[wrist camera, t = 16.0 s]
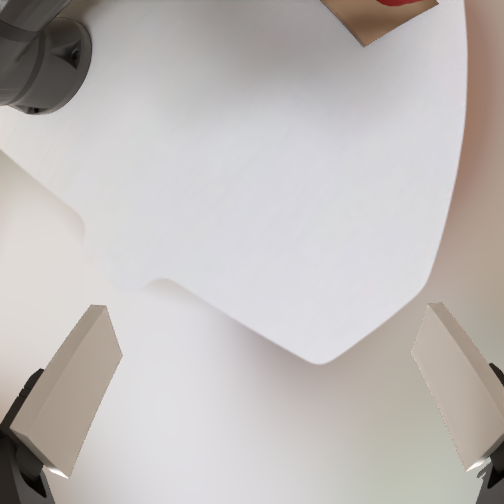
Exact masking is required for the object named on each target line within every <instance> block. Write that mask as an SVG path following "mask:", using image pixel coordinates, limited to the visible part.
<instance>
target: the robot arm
mask: <svg viewBox="0 0 504 504" xmlns="http://www.w3.org/2000/svg"><path fill="white" fill-rule="evenodd" d="M71 1H72V0H0V106H2V105H8V106H10V107H12V108H15V109H17V110H19V111H21V112H24V113H26V114H30V115H41V114H49V113H52V112H54V111H56V110H58V109H60V108H61V107H63V106H64V105H65V104H66V103H68V102H69V101H70V100H71V99H72V97H73V96H74V95H75V94H76V92H77V91H78V89H79V88H80V86H81V85H82V83H83V81H84V79H85V76H86V74H87V71H88V68H89V64H90V60H91V41H90V37H89V34H88V32H87V30H86V29H85V28H84V27H83V26H82V25H81V24H80V23H78V22H76V21H74V20H71V19H68V18H63V17H56V16H57V15H58V14H59V13H60V12H61V11H62V10H63V9H64V8H65V7H66V6H67V5H68V4H69V3H70V2H71ZM55 17H56V18H55ZM411 355H412V357H413V359H414V360H415V362H416V364H417V366H418V368H419V370H420V372H421V374H422V376H423V378H424V380H425V382H426V384H427V386H428V388H429V390H430V392H431V394H432V396H433V398H434V400H435V403H436V405H437V407H438V409H439V411H440V413H441V415H442V418H443V420H444V422H445V424H446V427H447V429H448V431H449V434H450V436H451V438H452V441H453V443H454V445H455V447H456V450H457V452H458V455H459V458H460V460H461V462H462V465H463V468H464V470H465V472H466V471H468V470H471V469H473V468H475V467H477V466H479V465H481V464H482V463H483V462H484V461H485V460H486V459H487V458H488V457H489V456H490V458H491V462H490V463H489V464H488V465H487V466H486V467H485V468H484V469H482V470H481V471H480V472H479V473H478V475H477V478H479V477H480V476H481V475H483V474H484V473H485V472H486V474H485V476H483V478H482V479H484V481H483V484H482V487H481V490H480V493H479V496H478V499H477V502H476V504H504V374H503V373H502V371H501V370H500V369H499V368H497V367H496V366H495V365H494V364H493V363H490V364H488V363H487V361H486V360H485V358H484V357H483V356H482V354H481V353H480V351H479V350H478V349H477V347H476V346H475V344H474V343H473V342H472V340H471V339H470V338H469V336H468V335H467V334H466V332H465V331H464V330H463V328H462V327H461V326H460V325H459V323H458V322H457V321H456V319H455V318H454V317H453V316H452V314H451V313H450V312H449V310H448V309H447V308H446V307H445V306H444V304H443V303H430V304H428V305H427V308H426V311H425V314H424V317H423V320H422V323H421V326H420V329H419V332H418V335H417V338H416V340H415V343H414V346H413V348H412V351H411ZM122 356H123V355H122V353H121V350H120V347H119V344H118V341H117V338H116V335H115V332H114V329H113V326H112V323H111V320H110V317H109V313H108V310H107V307H106V306H102V305H90V307H89V308H88V310H87V311H86V312H85V313H84V315H83V316H82V317H81V319H80V320H79V321H78V323H77V324H76V326H75V327H74V328H73V330H72V331H71V332H70V334H69V335H68V337H67V338H66V340H65V341H64V342H63V344H62V345H61V347H60V348H59V349H58V351H57V352H56V354H55V355H54V357H53V358H52V360H51V361H50V363H49V364H48V366H47V367H46V369H45V370H44V369H39V370H38V371H36V372H35V373H34V374H33V375H32V376H31V377H30V378H29V379H28V381H27V382H26V384H25V385H24V389H22V390H21V392H20V393H19V397H17V398H16V399H15V401H14V403H13V404H12V406H11V408H10V410H9V411H8V413H7V414H6V416H5V418H4V419H3V421H2V423H1V424H0V504H55V502H54V499H53V496H52V493H51V491H50V488H49V485H48V482H47V479H46V476H45V474H44V472H43V470H42V468H43V465H45V466H46V467H47V468H48V469H49V470H50V471H52V472H53V473H56V474H58V475H61V476H63V477H66V478H70V476H71V473H72V470H73V468H74V465H75V463H76V460H77V457H78V455H79V452H80V450H81V447H82V445H83V443H84V440H85V438H86V435H87V433H88V431H89V428H90V426H91V423H92V421H93V419H94V417H95V414H96V412H97V410H98V407H99V405H100V403H101V401H102V398H103V396H104V394H105V392H106V390H107V388H108V385H109V383H110V381H111V379H112V377H113V374H114V373H115V371H116V368H117V366H118V364H119V362H120V360H121V358H122Z"/></svg>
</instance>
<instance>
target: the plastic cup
mask: <svg viewBox="0 0 504 504" xmlns="http://www.w3.org/2000/svg"><path fill="white" fill-rule="evenodd" d="M376 1H378V2H380V3H381V4H384V5H387V6H401V5H405V4H411V3H415V2H419V1H423V0H376Z"/></svg>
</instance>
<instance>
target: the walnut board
mask: <svg viewBox="0 0 504 504" xmlns="http://www.w3.org/2000/svg"><path fill="white" fill-rule="evenodd" d="M320 1H321V2H322V3H323V4H324V5H325V6H326V7H327V8H328V9H329V10H330V11H331V12H332V13H333V14H334V15H335V16H336V17H337V18H338V19H339V20H340V21H341V22H342V23H343V24H344V25H345V27H346V28H347V29H348V30H349V31H350V32H351V33H352V34H353V36H354V37H355V38H356V39H357V40H358V41H359V43H360V44H361V45H362V46H363V47H365V46H367V45H369V44H370V43H372V42H373V41H375V40H377V39H378V38H380V37H381V36H383V35H385V34H386V33H388V32H390V31H391V30H393V29H395V28H396V27H398V26H400V25H401V24H403V23H405V22H407V21H408V20H410V19H412V18H414V17H416V16H417V15H419V14H421V13H423V12H425V11H427V10H428V9H430V8H432V7H434V6H436V5H438V4H439V3H438V2H437V1H436V0H423V1H419V2H415V3H411V4H405V5H401V6H387V5H384V4H381V3H380V2H378V1H376V0H320Z"/></svg>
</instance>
